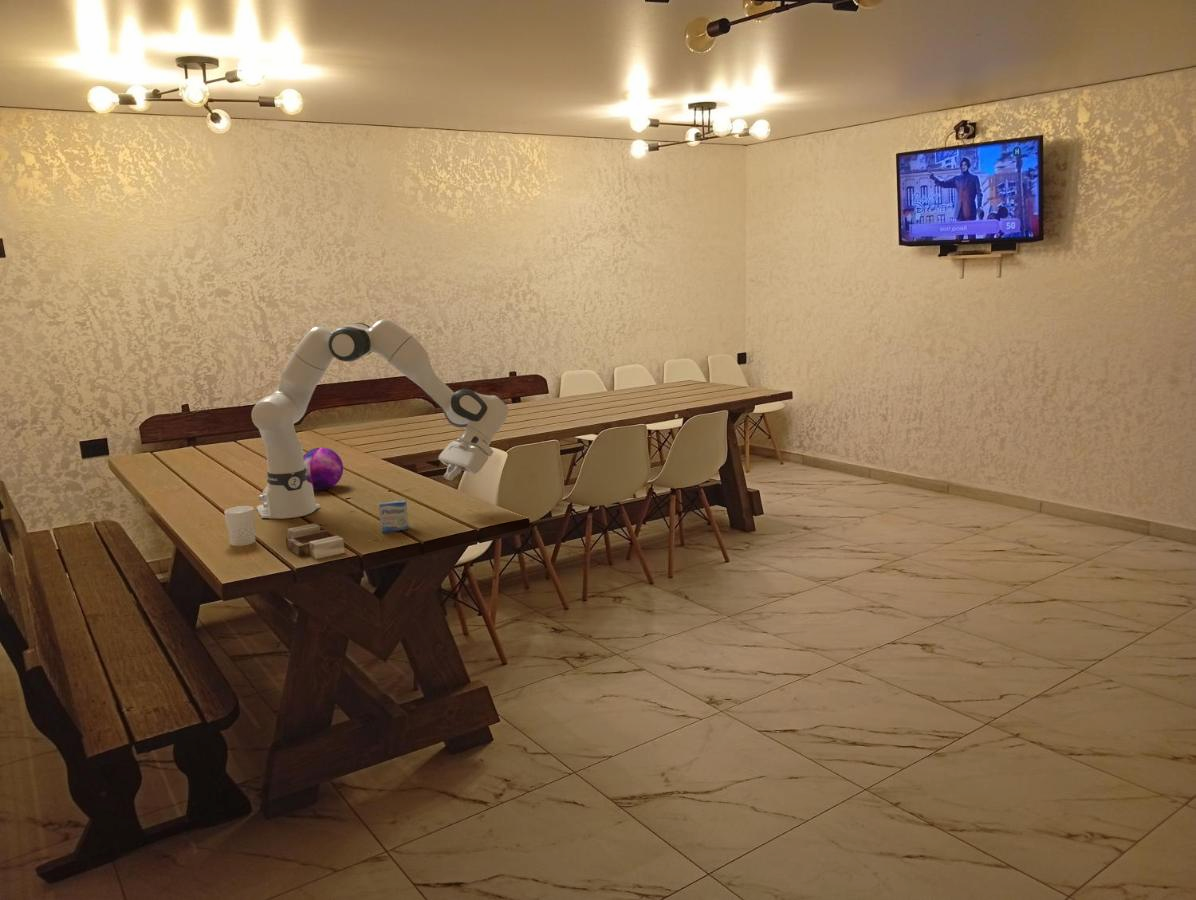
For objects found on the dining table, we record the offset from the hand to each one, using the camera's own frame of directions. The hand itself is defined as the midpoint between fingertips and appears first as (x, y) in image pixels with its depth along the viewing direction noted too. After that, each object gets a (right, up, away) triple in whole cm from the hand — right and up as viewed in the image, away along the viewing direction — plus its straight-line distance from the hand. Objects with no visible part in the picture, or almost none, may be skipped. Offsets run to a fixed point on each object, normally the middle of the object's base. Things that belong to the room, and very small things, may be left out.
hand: (447, 478), depth 277 cm
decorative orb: (-52, -5, +45) cm, 69 cm away
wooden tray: (-33, -19, -23) cm, 44 cm away
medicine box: (-14, -15, -9) cm, 22 cm away
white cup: (-56, -18, -16) cm, 61 cm away
